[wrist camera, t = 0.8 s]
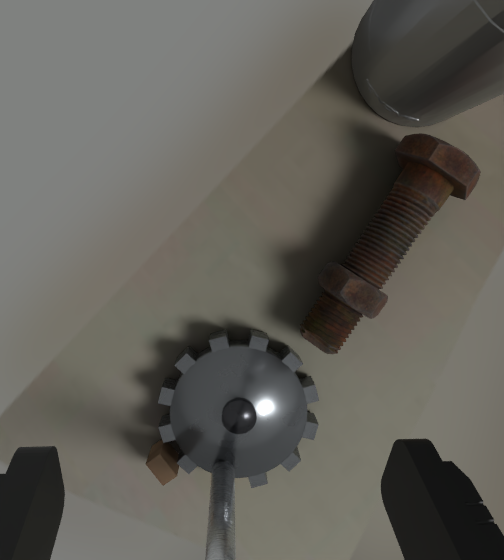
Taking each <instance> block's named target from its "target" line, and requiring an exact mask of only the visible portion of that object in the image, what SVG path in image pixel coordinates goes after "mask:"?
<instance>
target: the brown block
mask: <svg viewBox="0 0 504 560" xmlns="http://www.w3.org/2000/svg"><path fill="white" fill-rule="evenodd" d="M177 459H178V453H177V452H176V450H175V449H174V448H173V447H172V445H171V444H170V443H169V442H165V443H163V440H162V439H161V440H160V441H158V442H157V443H156V444H154V445H153V446H152V447H151V450H150V453H149V456H148V459H147V462H146V465H147V466H148V468H149V469H150V470H151V471H152V473H153V474H154V475H155V476H156V478H157V479H158V480H159V481H160V483H161V484H162V485H165V484H166V483H168V482H169V481H171V480H172V479H174V478H175V477H177V474H178V469H179V465H178V464H177Z"/></svg>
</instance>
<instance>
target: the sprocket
mask: <svg viewBox="0 0 504 560" xmlns="http://www.w3.org/2000/svg"><path fill="white" fill-rule="evenodd" d="M268 341H269V339H268V336H267V333H264V332H260V331H256V330H252V329H251V330H250V334H249V337H248V341H244V340H235V341H229V337H228V334H227V330H222V331H218V332H215V333H211V334H210V338H209V342H210V346H211V347H209V348H207V349H205V350H203V351H202V352H200V353H199V354H197V353H196V352H195V351H194V350H193V349H192V348H191V347H190V346H188V347H187V348H186V349H185V350H184V351H183V352H182V353H181V354H180V355H179V356H178V357H177V360H176V362H175V365H174V366H175V367H177V368H178V369H179V370H180V371H181V372H182V373H181V375H180V377H179V379H178V381H177V380H172V379H168V378H165V381H164V383H163V386H162V389H161V393H160V396H159V400H158V403H159V404H163V405H167V406H170V414H168V415H165V416H162V419H161V421H160V424H159V427H158V428H159V431H160V434H161V437H162V440H163V443H165V442H169V441H173V440H176V441H177V443H178V445H179V447H180V448H181V449H180V450H179V454H178V459H177V464H178V465H179V466H180V467H181V468H183V469H184V470H185V471H186V472H187V473H188V474H189V473H190V472H191V471H192V470H194V469H195V468H196V467H197V466H199V467H201V468H202V469H204V470H206V471H208V472H211V489H210V503H209V516H208V530H207V543H206V557H205V560H236V545H235V478H243V477H248V478H249V481H250V484H251V488H254V487H257V486H261V485H265V484H268V482H267V475H266V472H267V471H269V470H271V469H273V468H275V467H276V466H278V465H279V464H281V465H282V466H283V467H285V468H286V469H287V470H288V471H290V470H291V469H292V468H293V467H295V466H296V465H297V464H298V463H299V462H300V461H301V458H300V455H299V452H298V448H297V445H298V443H299V442H300V440H301V438H302V437H304V438H308V439H312V440H314V438H315V434H316V431H317V428H318V422H317V420H316V417H315V415H314V413H310V412H307V404H308V403H312V402H316V401H319V398H318V394H317V391H316V387H315V384H314V382H313V380H312V378H311V376H308V377H304V378H301V379H299V378H298V376H297V374H296V372H295V371H296V370H297V369H298V368H299V367H300V366H301V365H302V364H303V363H302V361H301V359H300V357H299V355H297V354H296V353H295V352H294V351H293V350H292V349H291V348H290V347H289V346H288V345H287V346H286V347H285V348H284V349H283V350H282V351H281V352H280V353H278V352H276V351H275V350H273V349H272V348H269V347H267V345H268Z"/></svg>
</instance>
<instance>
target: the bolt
mask: <svg viewBox="0 0 504 560" xmlns="http://www.w3.org/2000/svg"><path fill="white" fill-rule="evenodd" d="M395 153H396V156H397V160H398V163H399V166H400V167H401V168H403V171H402V172H401V174H400V175H399V177H398V178H397V180H396V181H395V183H394V187H393V188H392V191H391V192H389V196H387V197H386V199H387V200H384V201H383V203H384V204H382V205H381V206H380V207H381V209H378V213H375V217H376V218H372V221H373V222H369V225H370V226H367V227H366V228H367V230H364V231H363V232H364V235H361V238H362V239H358V242H359V243H355V246H356V247H352V249H353V251H352V252H350V256H347V259H348V260H344V262H345V264H341V265H340V264H338V263H337V262H335V261H332V262H329V263H327V264H326V266H325V267H324V269H323V270H322V272H321V273H320V275H319V276H318V282H319V285H320V286H322V287H323V288H324V289H325V292H323V293H322V295H323V296H321V297H319V298H320V300H317V303H318V304H314V306H315V308H311V310H312V312H309V316H307V317H306V319H307V320H303V322H304V324H300V326H301V329H300V332H301V334H302V336H303V337H304V338H305V339H306V340H308V341H309V342H311V343H312V344H313V345H315V346H316V347H318V348H319V349H320V350H322V351H323V352H325V353H327V354H336V353H338V351H337V350H340V349H341V348H340V346H343V342H346V339H345V338H349V336H348V334H351V330H354V326H357V322H358V321H360V319H359V317H363V315H365V316H366V317H368V318H370V319H372V318H374V317H376V316H377V315H378V314H379V312H380V311H381V310H382V308H383V307H384V305H385V304H386V302H387V299H388V296H387V295H386V294H384V293H383V292H381V291H380V290H379V289H382V288H383V287H382V285H383V284H386V283H385V280H389V279H388V276H392V275H391V272H395V271H394V268H397V267H398V266H397V263H401V262H400V260H399V259H404V258H403V256H402V255H406V254H407V253H406V251H409V248H408V247H410V246H412V244H411V242H415V239H414V238H418V235H417V234H421V230H423V229H424V228H425V227H424V225H427V224H428V223H427V221H430V220H431V218H430V217H433V216H434V214H435V213H436V212H437V211H438V210H439V209H440V208H441V207H442V205H443V204H444V202H445V201H446V200H447V198H448V197H449V195H451V196H454V197H457V198H460V199H463V200H466V199H467V197H468V196H469V194H470V193H471V192H472V190H473V189H474V187H475V186H476V184H477V182H478V180H479V176H480V173H481V171H480V170H479V168H478V167H477V165H476V164H475V162H474V161H473V160H472V159H471V158H470V157H469V156H468V155H467V154H466V153H464V152H463V151H461V150H460V149H458V148H456V147H454V146H452V145H450V144H449V143H447V142H445V141H443V140H440V139H438V138H435V137H433V136H431V135H427V134H412V135H407V136H405V137H404V138H403V139H402V141H401V142H400V144H399V145H398V147H397V148H396V150H395ZM362 314H363V315H362Z"/></svg>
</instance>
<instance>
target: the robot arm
mask: <svg viewBox="0 0 504 560" xmlns="http://www.w3.org/2000/svg"><path fill="white" fill-rule="evenodd" d="M352 69H353V75H354V79H355V82H356V84H357V87H358V89H359V92H360V93H361V95H362V96H363V98H364V99H365V101H366V102H367V104H368V105H369V106H370V107H371V108H372V109H373V110H374V111H375V112H376V113H377V114H379V115H380V116H382V117H383V118H385V119H387V120H388V121H390V122H393V123H396V124H399V125H402V126H410V127H422V126H430V125H433V124H436V123H439V122H441V121H444V120H446V119H448V118H451V117H453V116H455V115H457V114H459V113H462V112H464V111H466V110H468V109H471V108H473V107H475V106H478V105H480V104H482V103H484V102H486V101H489V100H491V99H493V98H495V97H497V96H499V95H502V94H504V0H374V1H373V2H372V4H371V6H370V7H369V9H368V10H367V12H366V13H365V15H364V16H363V18H362V19H361V21H360V24H359V26H358V28H357V31H356V33H355V37H354V41H353V46H352ZM381 494H382V500H383V503H384V506H385V509H386V512H387V514H388V517H389V519H390V522H391V524H392V527H393V530H394V532H395V535H396V538H397V540H398V543H399V546H400V548H401V551H402V554H403V556H404V559H405V560H504V536H503V534H502V532H501V531H500V529H499V527H498V526H497V524H494V519H493V517H492V516H491V514H490V512H489V510H488V509H487V507H486V506H484V505H483V500H482V499H481V497H480V495H479V493H478V492H477V490H476V488H475V487H474V485H473V483H472V482H471V480H470V479H469V478H468V477H467V476H466V475H465V474H464V473H463V472H462V471H461V470H460V469H459V468H458V467H457V466H456V465H455V464H454V463H453V462H452V461H442V460H441V458H440V456H439V454H438V452H437V451H436V449H435V447H434V445H433V444H432V442H431V441H429V440H428V439H398V440H396V441H395V442H394V444H393V447H392V450H391V453H390V456H389V459H388V461H387V464H386V467H385V470H384V473H383V476H382V479H381ZM64 496H65V492H64V484H63V479H62V473H61V468H60V463H59V458H58V452H57V449H56V447H54V446H48V447H20V448H18V449H17V450H16V452H15V453H14V456H13V458H12V460H11V462H10V465H9V467H8V470H7V472H6V474H0V560H50V558H51V554H52V550H53V547H54V543H55V540H56V536H57V532H58V529H59V525H60V521H61V518H62V513H63V507H64Z"/></svg>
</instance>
